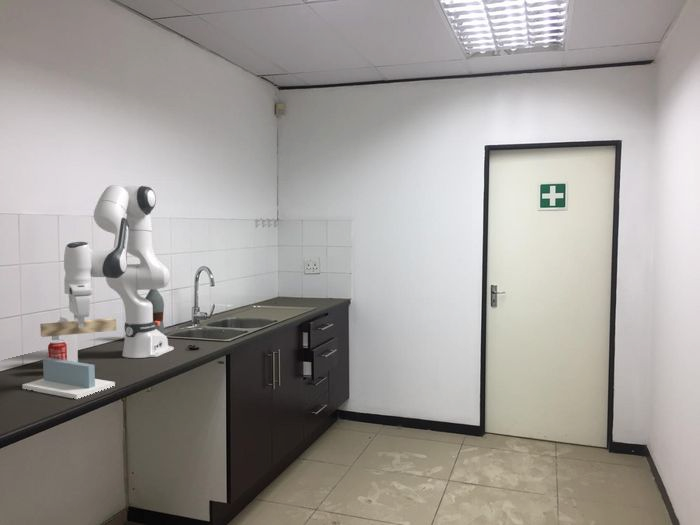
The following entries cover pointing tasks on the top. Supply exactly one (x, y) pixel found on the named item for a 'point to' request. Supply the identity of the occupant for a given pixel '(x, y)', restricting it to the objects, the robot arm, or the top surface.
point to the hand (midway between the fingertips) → (79, 327)
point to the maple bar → (72, 328)
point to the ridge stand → (68, 379)
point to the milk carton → (69, 343)
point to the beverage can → (57, 350)
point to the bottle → (157, 308)
